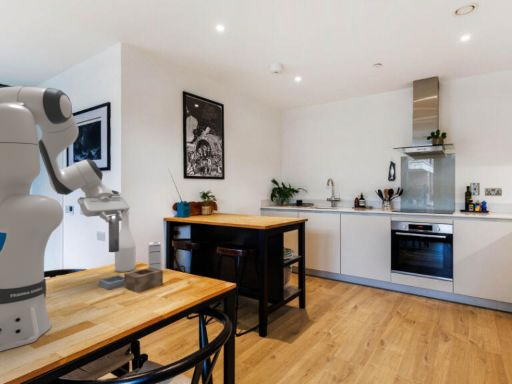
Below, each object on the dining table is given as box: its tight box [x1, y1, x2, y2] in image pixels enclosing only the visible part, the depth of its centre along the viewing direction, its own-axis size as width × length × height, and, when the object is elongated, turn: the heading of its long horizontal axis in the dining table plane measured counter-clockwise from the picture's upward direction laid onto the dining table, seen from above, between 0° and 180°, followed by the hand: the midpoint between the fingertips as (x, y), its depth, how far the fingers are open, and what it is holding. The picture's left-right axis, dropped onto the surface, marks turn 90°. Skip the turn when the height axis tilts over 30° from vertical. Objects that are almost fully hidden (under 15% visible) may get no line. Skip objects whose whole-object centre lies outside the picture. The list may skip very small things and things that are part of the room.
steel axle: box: [108, 214, 120, 253], centre depth 126 cm, size 4×4×15 cm
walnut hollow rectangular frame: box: [123, 266, 164, 293], centre depth 124 cm, size 12×9×6 cm
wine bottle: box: [114, 210, 137, 273], centre depth 149 cm, size 10×10×30 cm
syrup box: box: [147, 241, 162, 270], centre depth 145 cm, size 6×6×14 cm
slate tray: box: [97, 274, 124, 291], centre depth 126 cm, size 9×9×2 cm
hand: (114, 220), depth 125 cm, fingers closed on steel axle, 4 cm apart
